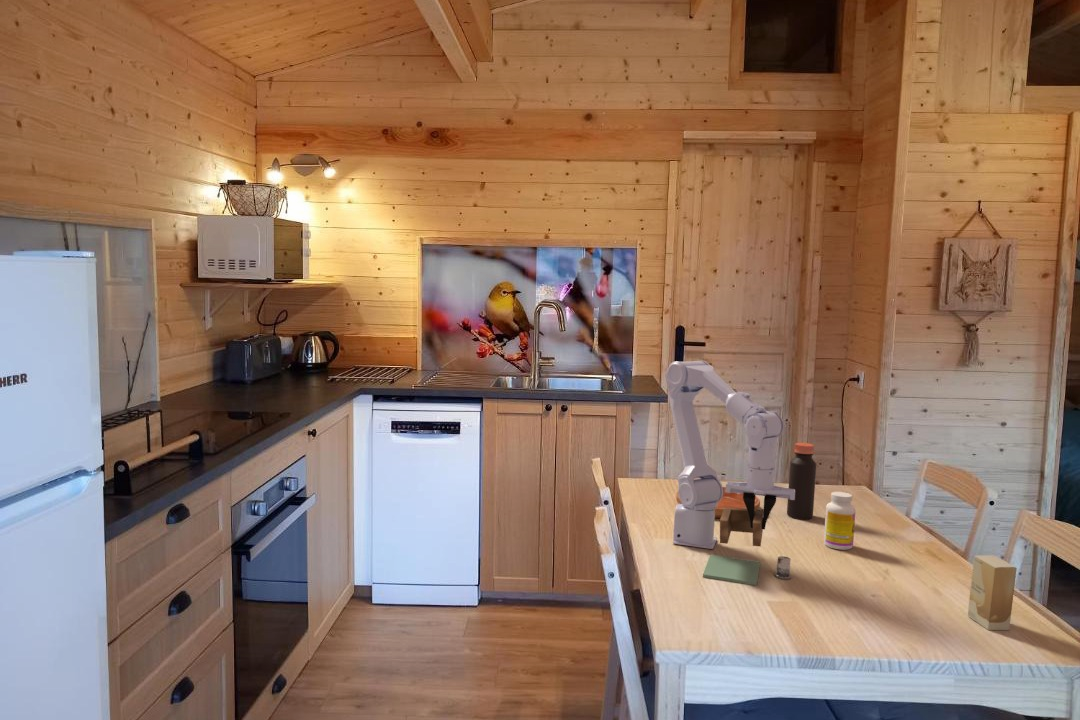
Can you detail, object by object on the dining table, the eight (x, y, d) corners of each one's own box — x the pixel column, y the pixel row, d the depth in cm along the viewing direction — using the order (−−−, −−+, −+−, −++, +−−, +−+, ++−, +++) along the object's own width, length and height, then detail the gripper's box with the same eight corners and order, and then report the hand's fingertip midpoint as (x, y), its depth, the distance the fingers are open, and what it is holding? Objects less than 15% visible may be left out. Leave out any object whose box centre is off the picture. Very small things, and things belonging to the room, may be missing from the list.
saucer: (759, 525, 196) (760, 511, 196) (671, 515, 203) (672, 502, 202) (759, 502, 218) (760, 490, 218) (680, 494, 225) (680, 482, 224)
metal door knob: (774, 578, 159) (775, 559, 159) (774, 572, 163) (776, 554, 162) (791, 580, 158) (792, 562, 158) (791, 574, 162) (792, 557, 161)
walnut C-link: (719, 543, 161) (719, 520, 161) (724, 528, 171) (724, 507, 171) (760, 546, 158) (760, 523, 158) (762, 531, 168) (762, 509, 168)
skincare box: (966, 616, 143) (971, 554, 142) (987, 615, 144) (993, 554, 142) (989, 631, 137) (995, 566, 136) (1011, 631, 137) (1017, 566, 136)
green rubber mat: (702, 577, 159) (702, 574, 159) (710, 557, 171) (710, 554, 171) (756, 585, 155) (756, 582, 155) (760, 564, 167) (760, 561, 167)
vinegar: (815, 515, 206) (820, 444, 204) (809, 521, 200) (814, 448, 198) (790, 511, 210) (794, 440, 208) (783, 516, 204) (788, 444, 202)
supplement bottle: (855, 552, 177) (859, 499, 176) (826, 549, 179) (829, 496, 178) (849, 542, 184) (853, 491, 183) (821, 540, 185) (824, 489, 184)
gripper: (725, 467, 162) (722, 528, 163) (796, 474, 158) (792, 537, 159) (728, 460, 169) (725, 519, 170) (796, 467, 164) (792, 527, 166)
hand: (757, 527), depth 165 cm, fingers closed on walnut C-link
